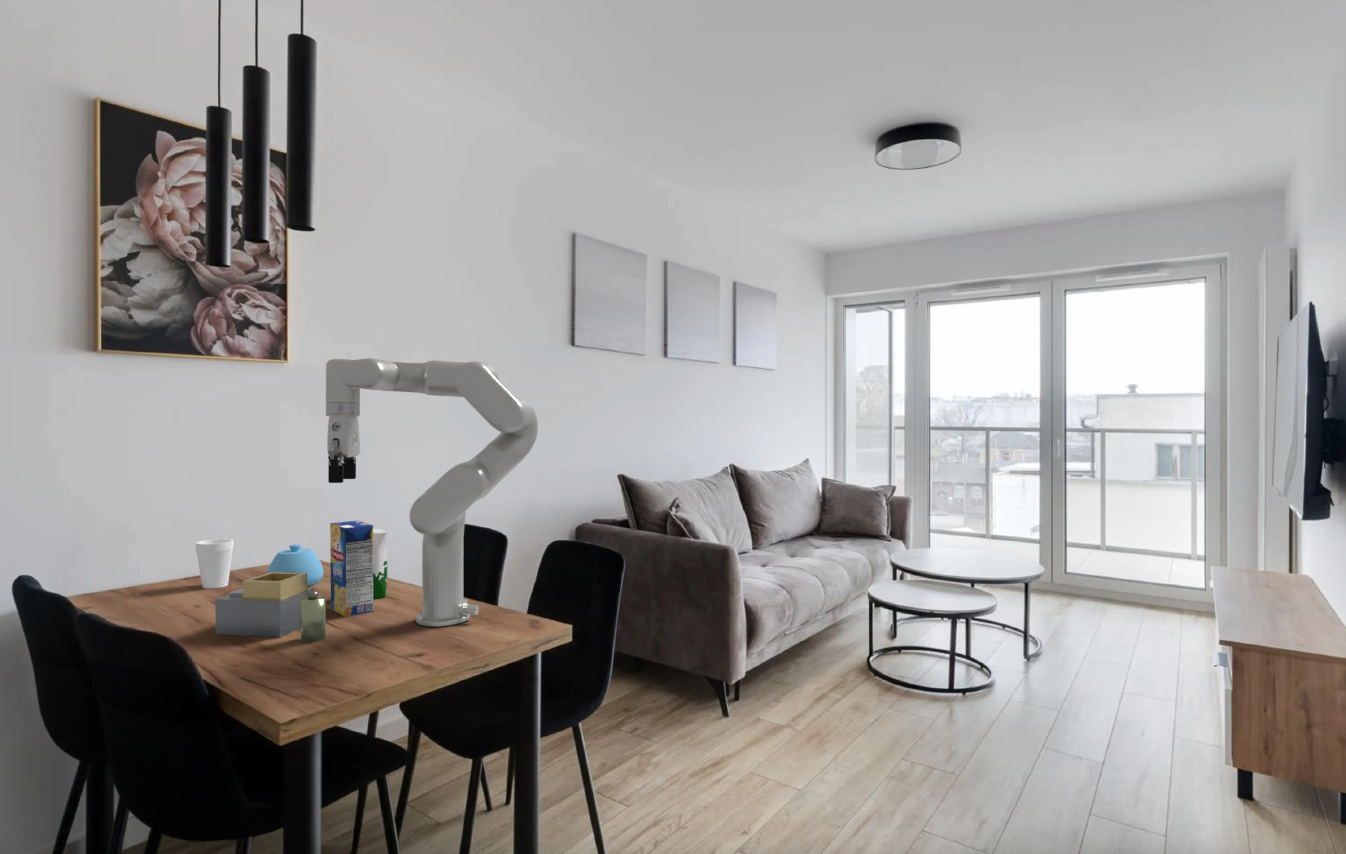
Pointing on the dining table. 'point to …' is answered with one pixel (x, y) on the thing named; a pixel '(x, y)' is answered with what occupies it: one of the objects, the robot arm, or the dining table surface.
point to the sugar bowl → (298, 563)
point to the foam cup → (214, 561)
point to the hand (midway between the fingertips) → (342, 480)
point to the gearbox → (263, 606)
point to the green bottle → (312, 618)
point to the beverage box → (351, 567)
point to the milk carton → (379, 563)
